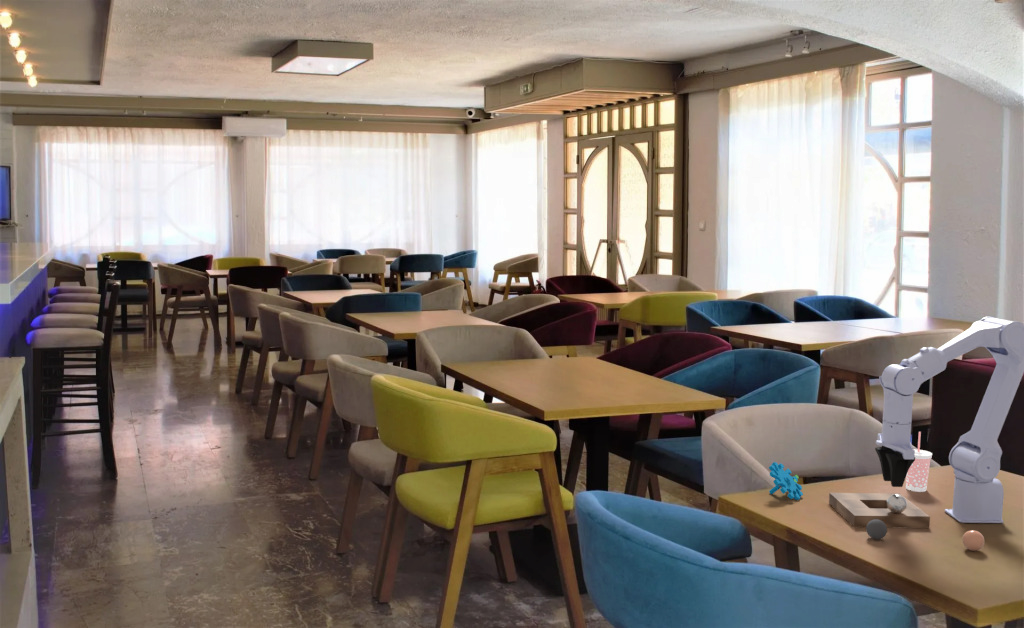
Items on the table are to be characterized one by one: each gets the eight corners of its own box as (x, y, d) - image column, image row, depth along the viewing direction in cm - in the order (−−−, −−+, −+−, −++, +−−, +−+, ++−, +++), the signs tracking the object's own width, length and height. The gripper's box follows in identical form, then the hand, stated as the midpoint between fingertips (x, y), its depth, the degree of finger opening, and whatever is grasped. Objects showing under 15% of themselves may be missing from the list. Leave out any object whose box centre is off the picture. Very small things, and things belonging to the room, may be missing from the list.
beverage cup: (900, 484, 240) (903, 428, 238) (926, 486, 238) (930, 429, 237) (905, 491, 234) (908, 434, 232) (932, 493, 233) (936, 435, 231)
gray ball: (881, 535, 203) (883, 516, 203) (889, 542, 199) (890, 523, 199) (862, 535, 203) (863, 516, 203) (869, 542, 199) (871, 522, 199)
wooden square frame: (898, 504, 224) (899, 493, 224) (929, 527, 208) (930, 516, 208) (828, 503, 224) (829, 492, 224) (854, 527, 208) (854, 515, 208)
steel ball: (909, 513, 210) (899, 498, 213) (911, 503, 207) (901, 488, 210) (891, 519, 210) (882, 503, 213) (893, 509, 207) (884, 493, 210)
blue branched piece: (791, 498, 222) (766, 461, 226) (772, 512, 225) (748, 475, 229) (813, 494, 230) (789, 459, 234) (795, 508, 233) (771, 472, 237)
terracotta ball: (977, 546, 197) (979, 527, 197) (987, 553, 193) (989, 534, 193) (958, 546, 197) (959, 527, 197) (967, 553, 193) (968, 534, 193)
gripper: (865, 413, 216) (861, 473, 218) (892, 429, 202) (888, 493, 204) (897, 413, 216) (893, 474, 218) (926, 429, 202) (921, 493, 204)
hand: (892, 483), depth 211 cm, fingers open, 4 cm apart
